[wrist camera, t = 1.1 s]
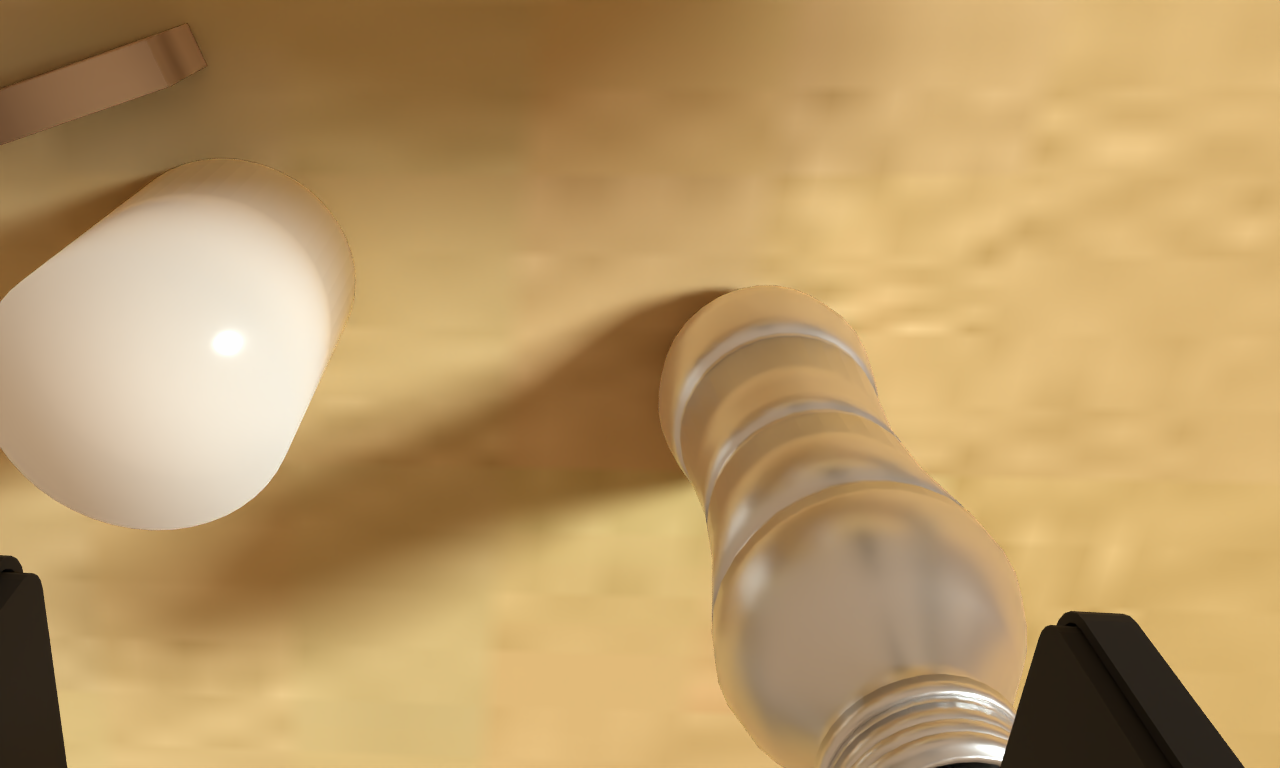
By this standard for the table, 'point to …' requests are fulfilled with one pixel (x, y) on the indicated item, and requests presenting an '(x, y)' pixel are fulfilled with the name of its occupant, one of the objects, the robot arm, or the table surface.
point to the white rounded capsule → (174, 346)
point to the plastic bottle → (835, 550)
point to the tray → (98, 82)
